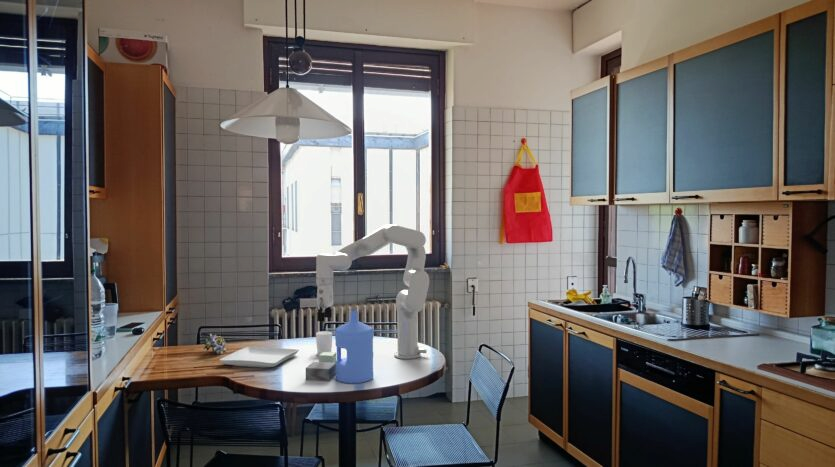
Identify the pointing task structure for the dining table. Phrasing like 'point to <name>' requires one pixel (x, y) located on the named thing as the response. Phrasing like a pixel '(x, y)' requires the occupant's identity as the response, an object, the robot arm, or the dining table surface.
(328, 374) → the block
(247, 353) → the square plate
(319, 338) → the white cup
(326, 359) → the sage cube
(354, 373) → the water jug
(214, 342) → the passion flower
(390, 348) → the dining table surface
